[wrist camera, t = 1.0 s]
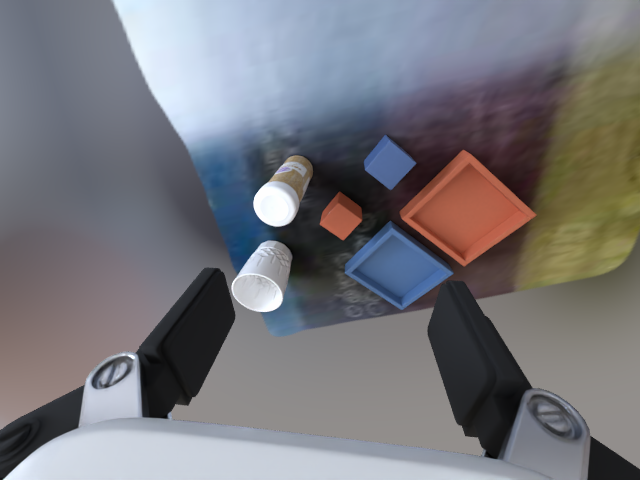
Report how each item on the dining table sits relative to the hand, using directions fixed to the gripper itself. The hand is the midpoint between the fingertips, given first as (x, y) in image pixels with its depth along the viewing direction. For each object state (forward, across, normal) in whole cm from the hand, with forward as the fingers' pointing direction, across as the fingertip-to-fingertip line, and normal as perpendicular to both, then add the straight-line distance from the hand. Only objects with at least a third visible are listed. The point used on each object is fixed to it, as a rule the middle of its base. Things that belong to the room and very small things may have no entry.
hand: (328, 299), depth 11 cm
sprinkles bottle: (+28, +6, +2) cm, 29 cm away
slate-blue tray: (+28, -10, +18) cm, 35 cm away
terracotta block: (+28, 0, +8) cm, 29 cm away
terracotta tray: (+28, -18, +8) cm, 34 cm away
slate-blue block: (+28, -6, 0) cm, 29 cm away
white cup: (+29, +12, +18) cm, 36 cm away
